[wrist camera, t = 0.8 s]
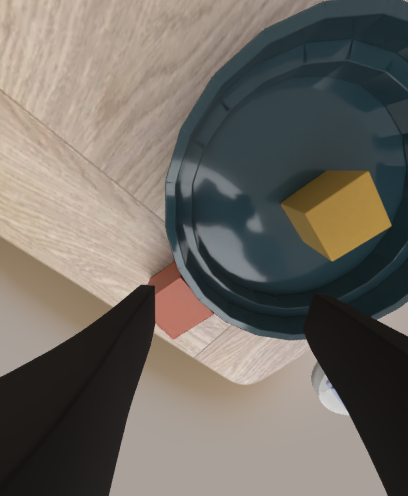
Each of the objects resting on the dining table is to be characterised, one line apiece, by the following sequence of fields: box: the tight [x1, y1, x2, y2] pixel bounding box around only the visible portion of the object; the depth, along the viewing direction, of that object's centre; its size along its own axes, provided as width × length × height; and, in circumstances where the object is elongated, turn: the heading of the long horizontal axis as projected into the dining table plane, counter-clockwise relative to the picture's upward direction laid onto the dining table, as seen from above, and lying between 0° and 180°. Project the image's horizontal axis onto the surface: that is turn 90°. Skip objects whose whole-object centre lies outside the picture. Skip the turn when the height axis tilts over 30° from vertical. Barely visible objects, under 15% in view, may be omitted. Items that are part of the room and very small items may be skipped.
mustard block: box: [280, 170, 391, 261], centre depth 14 cm, size 4×4×4 cm
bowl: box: [165, 0, 408, 340], centre depth 14 cm, size 19×19×4 cm
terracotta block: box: [148, 261, 214, 339], centre depth 17 cm, size 4×4×4 cm
